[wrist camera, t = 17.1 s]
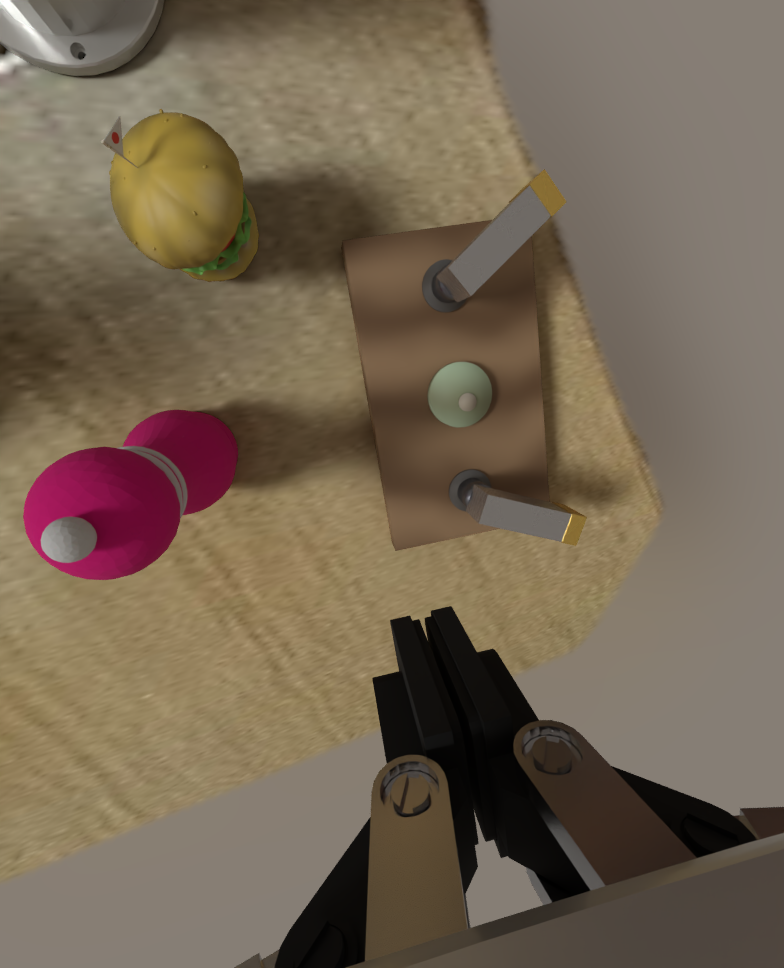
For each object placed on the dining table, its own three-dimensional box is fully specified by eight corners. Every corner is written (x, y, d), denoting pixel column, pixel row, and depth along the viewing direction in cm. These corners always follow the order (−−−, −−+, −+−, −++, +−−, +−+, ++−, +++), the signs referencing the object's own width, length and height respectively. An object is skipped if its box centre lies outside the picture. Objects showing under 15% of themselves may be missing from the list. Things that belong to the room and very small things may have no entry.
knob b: (453, 502, 37) (475, 524, 32) (462, 474, 37) (486, 492, 32) (541, 522, 39) (575, 546, 34) (550, 496, 39) (587, 516, 33)
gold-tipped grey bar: (446, 310, 34) (470, 299, 28) (424, 284, 33) (445, 268, 28) (527, 229, 33) (566, 202, 28) (507, 201, 32) (543, 168, 27)
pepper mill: (263, 442, 36) (200, 527, 17) (210, 512, 37) (95, 666, 18) (182, 385, 34) (11, 409, 15) (129, 459, 35) (-98, 570, 16)
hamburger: (248, 306, 34) (212, 276, 22) (146, 270, 32) (50, 217, 21) (276, 198, 32) (251, 105, 21) (170, 154, 31) (81, 28, 19)
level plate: (341, 247, 34) (343, 236, 31) (518, 223, 35) (536, 210, 32) (392, 542, 40) (397, 555, 37) (539, 510, 42) (556, 521, 39)
